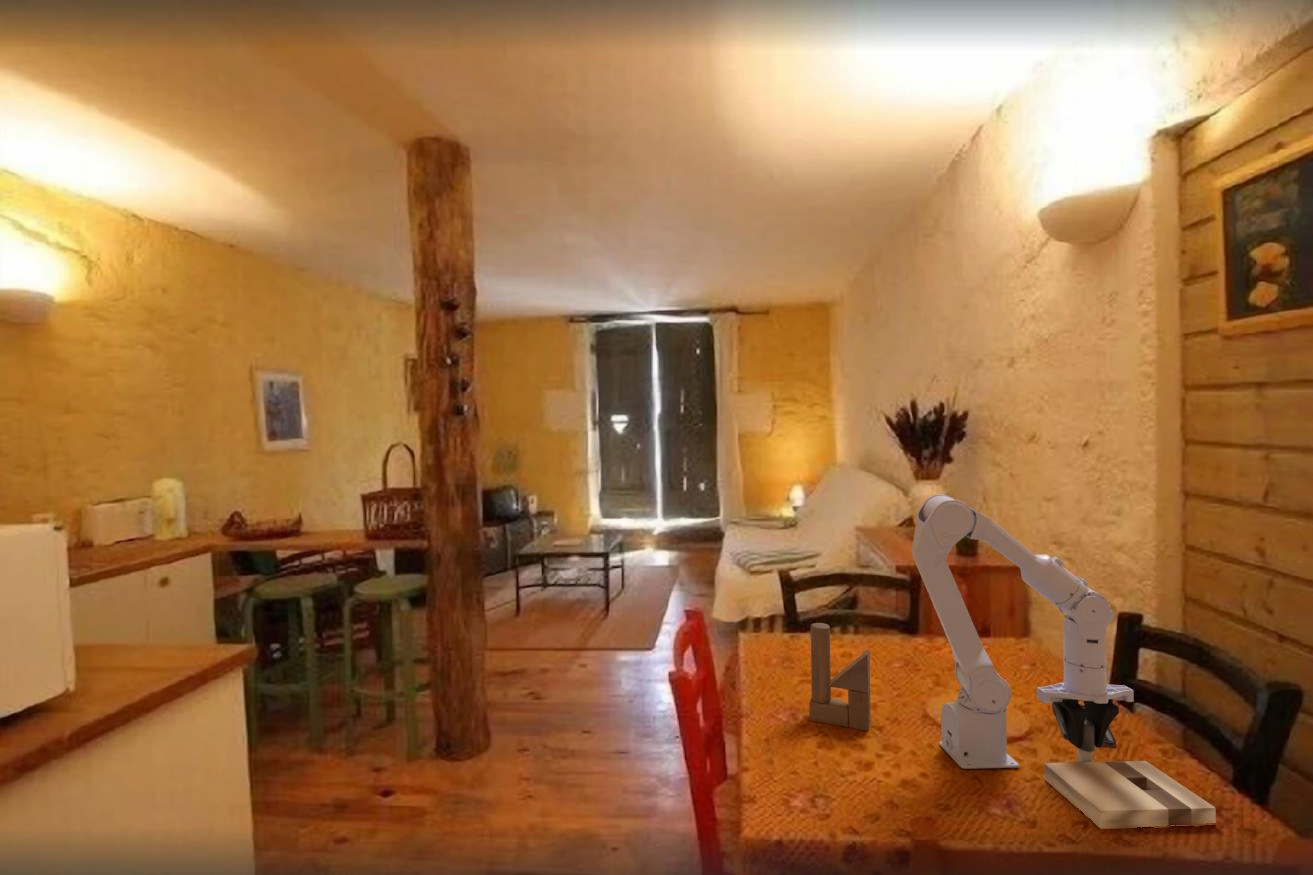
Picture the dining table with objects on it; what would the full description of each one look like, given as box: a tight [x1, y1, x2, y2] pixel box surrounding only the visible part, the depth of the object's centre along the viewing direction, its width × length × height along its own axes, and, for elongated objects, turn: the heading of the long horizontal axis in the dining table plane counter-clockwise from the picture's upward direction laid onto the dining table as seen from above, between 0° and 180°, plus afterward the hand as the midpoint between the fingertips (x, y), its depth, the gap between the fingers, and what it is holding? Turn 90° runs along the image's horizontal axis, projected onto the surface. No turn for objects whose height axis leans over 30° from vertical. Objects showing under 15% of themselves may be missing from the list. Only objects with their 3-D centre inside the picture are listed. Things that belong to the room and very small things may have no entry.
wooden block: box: [808, 622, 872, 732], centre depth 116 cm, size 4×11×18 cm, turn 65°
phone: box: [1051, 702, 1117, 748], centre depth 114 cm, size 8×1×15 cm
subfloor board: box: [1043, 760, 1217, 830], centre depth 90 cm, size 16×12×2 cm
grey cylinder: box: [1077, 720, 1096, 763], centre depth 100 cm, size 3×3×7 cm
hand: (1085, 744), depth 100 cm, fingers closed on grey cylinder, 3 cm apart
